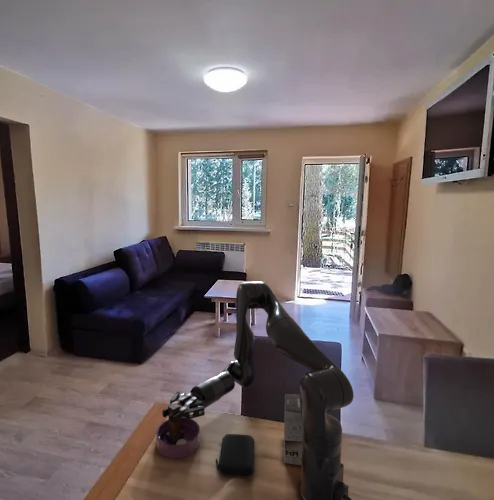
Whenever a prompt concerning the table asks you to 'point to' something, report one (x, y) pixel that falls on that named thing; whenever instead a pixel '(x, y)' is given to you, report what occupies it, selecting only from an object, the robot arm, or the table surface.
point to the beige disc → (180, 442)
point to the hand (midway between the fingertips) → (166, 416)
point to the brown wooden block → (174, 426)
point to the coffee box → (293, 430)
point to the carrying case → (236, 455)
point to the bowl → (190, 436)
